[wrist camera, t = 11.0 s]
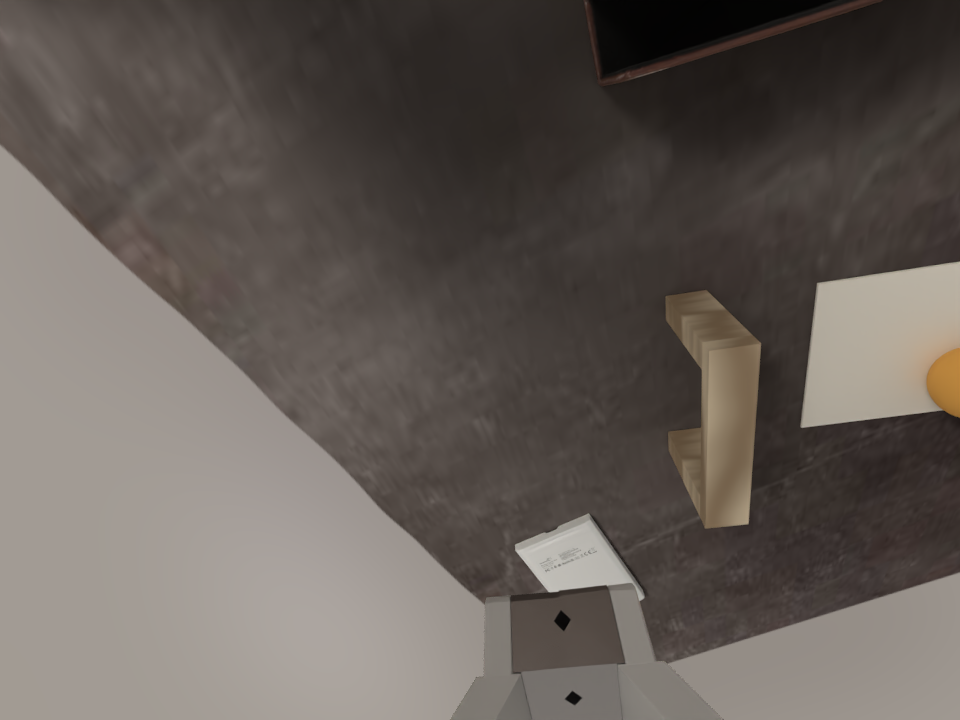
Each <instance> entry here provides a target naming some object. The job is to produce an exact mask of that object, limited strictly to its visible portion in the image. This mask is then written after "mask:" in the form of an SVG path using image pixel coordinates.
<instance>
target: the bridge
mask: <svg viewBox="0 0 960 720" xmlns="http://www.w3.org/2000/svg"><path fill="white" fill-rule="evenodd" d="M666 321H667V322H668V324H669V325H670V326H671V328H672V329H673V331H674V332H675V333H676V335H677V336H678V337H679V339H680V340H681V342H682V343H683V344H684V346H685V347H686V349H687V350H688V351H689V353H690V354H691V356H692V357H693V358H694V360H695V361H696V363H697V364H698V365H699V367H700V368H701V369H702V403H701V428H693V429H685V430H677V431H669V432H668V447H669V452H670V454H671V456H672V459H673V461H674V463H675V465H676V467H677V469H678V471H679V473H680V476H681V478H682V480H683V482H684V484H685V486H686V488H687V490H688V493H689V495H690V497H691V499H692V501H693V503H694V505H695V507H696V510H697V512H698V514H699V516H700V518H701V520H702V522H703V524H704V527H705V529H707V528H716V527H725V526H735V525H744V524H748V522H749V508H750V494H751V480H752V466H753V452H754V437H755V423H756V409H757V395H758V381H759V367H760V353H761V343H760V342H759V341H758V340H757V339H756V338H755V337H754V336H753V335H752V334H751V333H750V332H749V331H748V330H747V329H746V328H745V327H744V326H743V325H742V324H741V323H740V322H739V321H738V320H737V319H736V318H735V317H734V316H733V315H731V314H730V313H729V312H728V311H727V310H726V309H725V308H724V307H723V306H722V305H721V304H720V303H719V302H718V301H717V300H716V299H715V298H714V297H713V296H712V295H711V294H710V293H709V292H708V291H707V290H702V291H696V292H689V293H683V294H676V295H669V296H666Z"/></svg>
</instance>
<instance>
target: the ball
mask: <svg viewBox="0 0 960 720" xmlns="http://www.w3.org/2000/svg"><path fill="white" fill-rule="evenodd" d="M926 384H927V390H928V392H929V395H930V397H931V398H932V400H933V401H934V402H935V403H936V404H937V405H938V406H939V407H940V408H941V409H943V410H944V411H946V412H947V413H949V414H951V415H953V416H956V417H959V418H960V348H957V349H954V350H951V351H949V352H947V353H945V354H943V355H942V356H941V357H939V358H938V359H937V360H936V361H935V362H934V363H933V364H932V366H931V367H930V369H929V371H928V374H927V381H926Z"/></svg>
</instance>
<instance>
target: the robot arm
mask: <svg viewBox="0 0 960 720" xmlns="http://www.w3.org/2000/svg"><path fill="white" fill-rule="evenodd" d="M484 629H485V630H484V676H483V677H476V679H475V680H474V682H473V683H472V685H471V687H470V688H469V690H468V692H467V693H466V695H465V697H464V698H463V700H462V701H461V703H460V705H459V706H458V708H457V709H456V711H455V713H454V714H453V716H452V718H451V719H450V720H723V719H722V718H721V717H720V716H719V715H718V714H717V713H716V712H715V711H714V710H713V709H712V708H711V707H710V706H709V705H708V704H707V703H706V702H705V701H704V700H703V699H702V698H701V697H700V696H699V695H698V694H697V693H696V692H695V691H694V690H693V689H692V688H691V687H690V686H689V685H688V684H687V683H686V682H685V681H684V680H683V679H682V678H681V677H680V676H679V675H678V674H677V673H676V672H675V671H674V670H673V669H672V668H671V667H670V666H669V665H668V664H667V663H666V662H665V661H656V658H655V654H654V651H653V647H652V644H651V640H650V637H649V633H648V630H647V626H646V623H645V619H644V616H643V612H642V609H641V605H640V602H639V598H638V595H637V591H636V588H635V586H634V585H633V583H626V584H617V585H608V586H607V585H602V586H593V587H585V588H576V589H568V590H559V592H548V593H534V594H521V595H508V596H497V597H487V598H486V603H485V625H484Z"/></svg>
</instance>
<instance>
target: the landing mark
mask: <svg viewBox="0 0 960 720" xmlns="http://www.w3.org/2000/svg"><path fill="white" fill-rule="evenodd" d="M957 348H960V261H959V262H953V263H946V264H939V265H933V266H926V267H920V268H913V269H906V270H900V271H893V272H886V273H880V274H873V275H867V276H860V277H853V278H847V279H840V280H834V281H827V282H820V283H817V288H816V297H815V305H814V314H813V322H812V331H811V339H810V348H809V356H808V365H807V373H806V382H805V390H804V399H803V407H802V416H801V424H800V427H801V428H804V427H812V426H820V425H828V424H836V423H844V422H853V421H861V420H869V419H877V418H885V417H893V416H901V415H909V414H917V413H925V412H933V411H941V410H943V409H941V408H940V407H939V406H938V405H937V404H936V403H935V402H934V401H933V400H932V398H931V397H930V395H929V392H928V390H927V384H926V381H927V374H928V371H929V369H930V367H931V366H932V364H933V363H934V362H935V361H936V360H937V359H938V358H939V357H941V356H942V355H943V354H945V353H947V352H949V351H951V350H954V349H957Z"/></svg>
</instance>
